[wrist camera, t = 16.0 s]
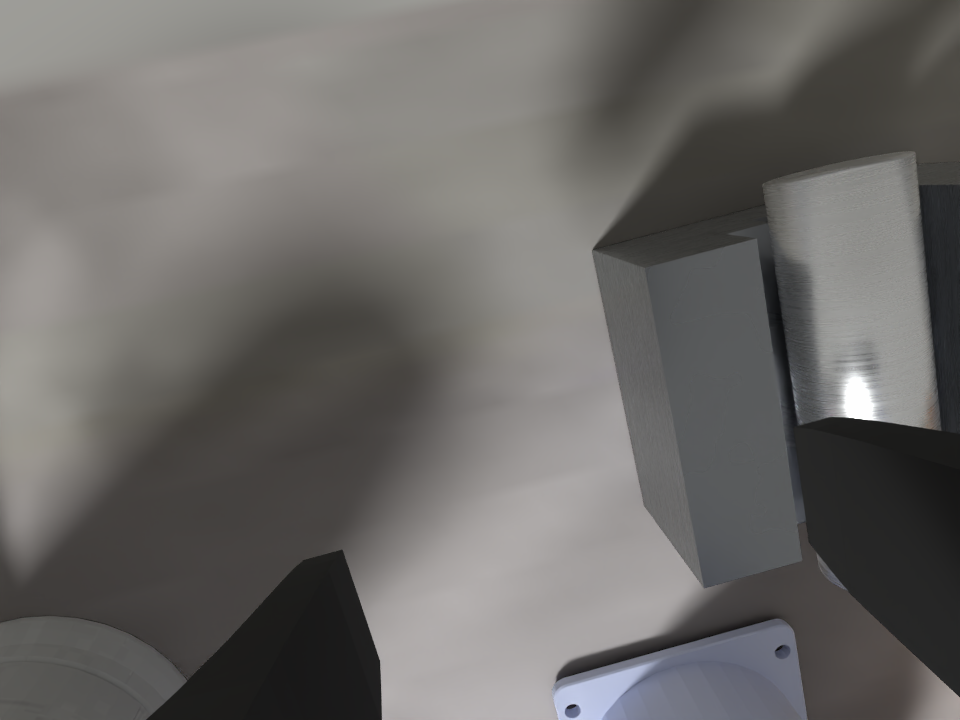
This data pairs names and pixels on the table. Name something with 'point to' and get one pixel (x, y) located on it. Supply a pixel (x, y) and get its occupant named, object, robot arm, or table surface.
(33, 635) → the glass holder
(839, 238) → the axle
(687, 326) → the v-block
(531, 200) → the table surface
